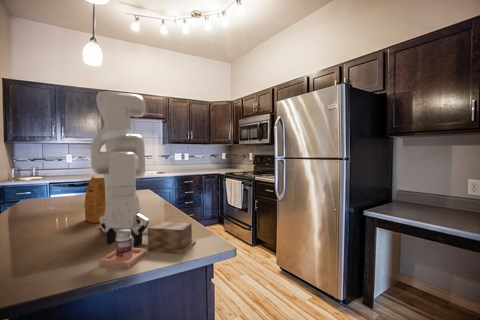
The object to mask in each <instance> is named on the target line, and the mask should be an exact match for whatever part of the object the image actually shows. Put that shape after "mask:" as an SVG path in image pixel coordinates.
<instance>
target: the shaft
mask: <svg viewBox="0 0 480 320" xmlns="http://www.w3.org/2000/svg"><path fill="white" fill-rule="evenodd" d="M136 228H137V227H136ZM137 229H138V228H137ZM130 230H131V236H132V239H134V235H135V233H134V231H133V230H132V229H130ZM142 236H143V237H148V227H147V228H146V229H145V230H144V231H143V232H142Z"/></svg>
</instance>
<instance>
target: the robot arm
mask: <svg viewBox="0 0 480 320" xmlns="http://www.w3.org/2000/svg"><path fill="white" fill-rule="evenodd" d="M96 105H97V108H98V112H99V114H100V117H101V118H102V121H103V124H104V125H103V126H104V127H103V128H102V129H100V130H99V131H98V132H97V134H95V136H94V138H92V142H91V145H90V166H91V170H92V171H93V173H94V174H97V175H103V178H104V183H105V200H106V206H105V215H104V216H102V217H100V218H99V221H100V222H99V224H100V225H101V229H102V232H103V233H105V234H106V235H105V236H106V238H105V239H106V246H110V245H112V244H114V243H116V233H117V232H118V231H119V230H123V229H132V230H133V231H134V233H135V235H134V238H133V242H134V247H138V246H140V245H141V244H142V237H143V235H142V232H143V231H144V230H145V229H146V228H148V226H149V223H150V219H149V218H147V217H146V216H145V215H144V214H143V215H142V214H141V205H140V200H139V199H140V198H139V196H138V194H137V186H136V185H137V184H136V180H137V179H140V178H143V177H144V176H145V175H146V150H145V140H144V138H143V136H142V135H141V134H137V133H130V132H131V130H132V123H131V117H136V118H137V117H138V118H140V117H141V118H142V117H143V116H145V113H146V103H145V99H144V98H143V96H141V95H139V94H137V93H130V92H129V93H127V92H118V91H107V90H106V91H99V92H98V93H97V94H96ZM103 146H105V151H101V148H102V147H103ZM141 222H142V224H141ZM136 227H137V228H138V229H137V228H136Z"/></svg>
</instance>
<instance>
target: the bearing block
mask: <svg viewBox="0 0 480 320" xmlns="http://www.w3.org/2000/svg"><path fill="white" fill-rule="evenodd" d="M147 228H148V236H142V244H141V245H140V246H138V247H134V241H133V248H143V249H148V253H149V252H150V253H162V254H173V255H174V254H175V255H186V253H187V252H188V251H189V250H190V249H192V247H193V246H195V245H196V242H197V241H196V240H193V237H192V234H193V233H192V231H193V230H192V223H189V222H173V221H158V222H156V223H154V224H152V225H150V226H149V227H148V226H147Z"/></svg>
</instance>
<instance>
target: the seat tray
mask: <svg viewBox="0 0 480 320" xmlns="http://www.w3.org/2000/svg"><path fill="white" fill-rule="evenodd" d="M148 255H149V252H148V249H143V248H133V256H132V257H131V258H129V259H125V260H118V259H117V257H116V249H115V250H113V251H112V252H110V253H108V254H107V255H105V256H103V257H101V258H99V260H98V261H99V262H98V265H99V267H109V268H116V269H117V268H120V269H130V268H131V267H133V266H134V265H136V264H137V263H138V262H139V261H141V260H143V258H145V257H147V256H148Z"/></svg>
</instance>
